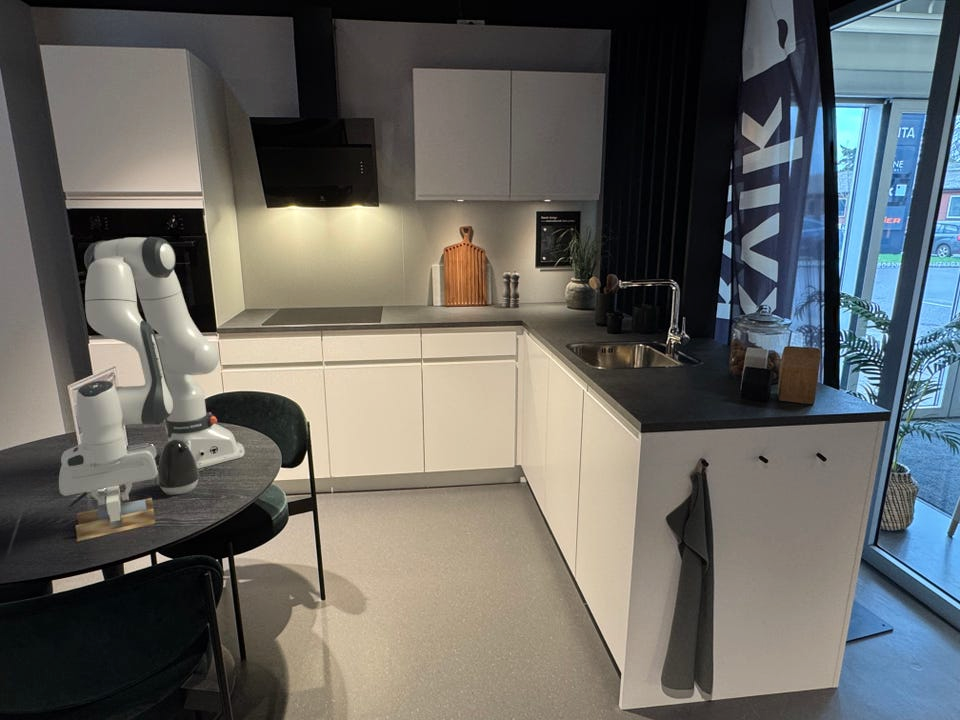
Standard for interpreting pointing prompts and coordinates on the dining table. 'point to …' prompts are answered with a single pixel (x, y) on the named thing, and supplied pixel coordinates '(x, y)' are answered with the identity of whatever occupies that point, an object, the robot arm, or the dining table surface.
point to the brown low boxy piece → (95, 527)
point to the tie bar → (113, 503)
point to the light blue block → (124, 509)
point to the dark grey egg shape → (177, 468)
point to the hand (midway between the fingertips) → (114, 502)
